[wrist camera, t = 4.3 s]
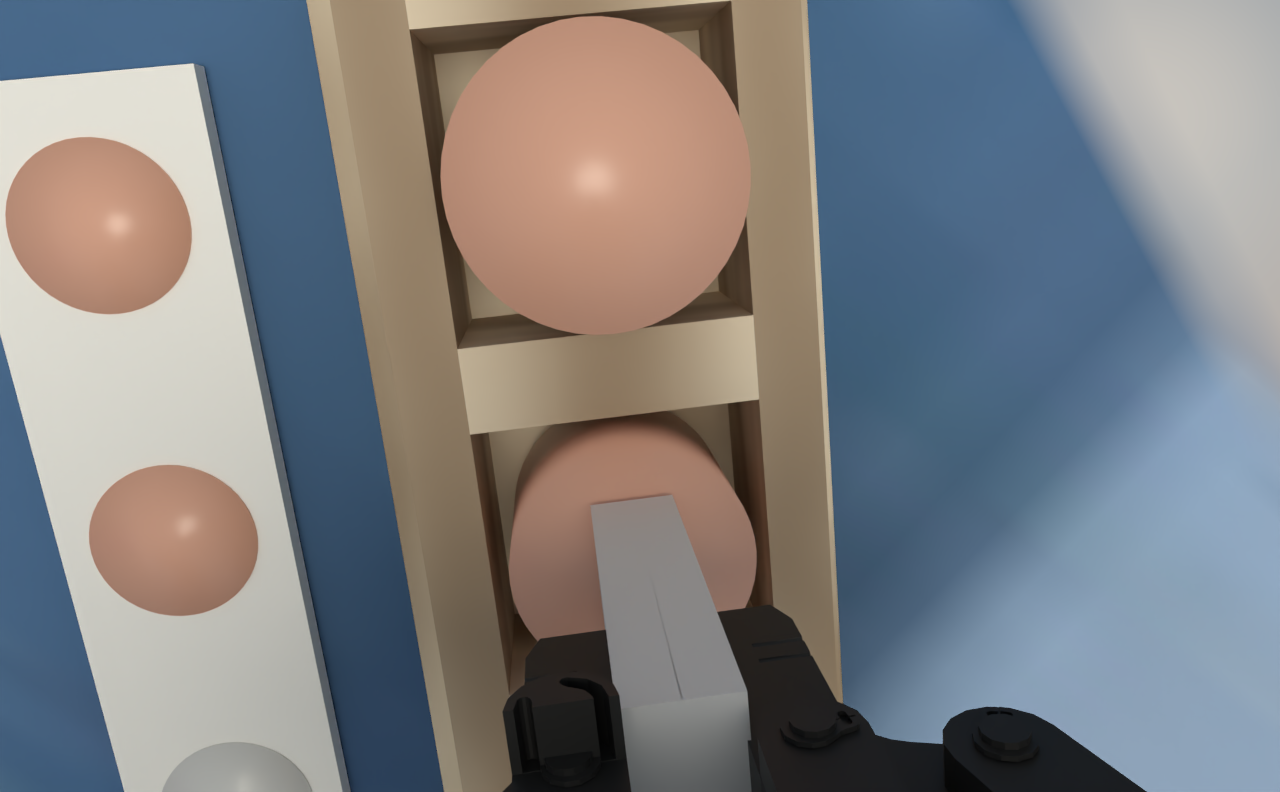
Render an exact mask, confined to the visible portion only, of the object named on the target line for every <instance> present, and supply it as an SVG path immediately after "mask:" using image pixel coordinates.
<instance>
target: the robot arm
mask: <svg viewBox="0 0 1280 792" xmlns="http://www.w3.org/2000/svg"><path fill="white" fill-rule="evenodd" d="M590 507H591V516H592V524H593V532H594V541H595V549H596V558H597V566H598V574H599V583H600V591H601V600H602V608H603V616H604V625H605V630H599V631H592V632H585V633H577V634H570V635H563V636H556V637H548V638H541V639H539V641H538V642H537V643H536V645H535V646H534V647H533V649H532V650H531V651H530V653H529V654H528V655H527V657H526V658H525V682H524V685H523V686H521V687H520V688H519V689H518V690H517V691H515V692H514V693H513V694H512V695H511V696H510V697H509V698H508V699H507V701H506V704H505V706H504V709H503V711H502V713H503V720H504V726H505V733H506V739H507V746H508V752H509V759H510V765H511V772H512V783H511V784H510V785H509V786H508V787H507V788H506V789H505V790H504V791H503V792H1146V791H1145V790H1143V789H1142V788H1141V787H1139V786H1138V785H1136V784H1135V783H1134V782H1132V781H1131V780H1129V779H1128V778H1127V777H1125V776H1124V775H1122V774H1121V773H1120V772H1118V771H1117V770H1115V769H1114V768H1113V767H1111V766H1110V765H1109V764H1107V763H1106V762H1104V761H1103V760H1102V759H1100V758H1099V757H1097V756H1096V755H1095V754H1093V753H1092V752H1090V751H1089V750H1088V749H1086V748H1085V747H1083V746H1082V745H1081V744H1079V743H1078V742H1076V741H1075V740H1074V739H1072V738H1071V737H1069V736H1068V735H1067V734H1065V733H1064V732H1063V731H1061V730H1060V729H1058V728H1057V727H1056V726H1054V725H1053V724H1051V723H1049V722H1047V721H1045V720H1043V719H1041V718H1039V717H1037V716H1036V715H1034V714H1030V713H1026V712H1023V711H1019V710H1015V709H1011V708H1004V707H999V708H998V707H983V708H978V709H972V710H966V711H964V712H962V713H960V714H958V715H957V716H955V717H953V718H951V719H950V720H949V722H948V723H947V725H946V726H945V728H944V729H943V744H932V743H917V742H906V741H898V740H891V739H888V738H884V737H881V736H877V735H875V733H874V732H873V730H872V728H871V726H870V725H869V723H868V722H867V721H866V719H865V718H864V717H863V716H862V715H861V714H860V713H859V712H858V711H857V710H855V709H853V708H850V707H848V706H846V705H844V704H842V703H840V702H837V700H836V698H835V697H834V695H833V693H832V691H831V689H830V687H829V686H828V684H827V682H826V680H825V678H824V676H823V674H822V673H821V671H820V669H819V667H818V665H817V663H816V662H815V660H814V658H813V656H811V654H810V651H809V649H808V647H807V645H806V643H805V641H803V640H802V636H801V634H800V632H799V630H798V628H797V627H796V625H795V623H794V621H793V619H792V618H790V617H789V616H787V615H786V614H784V613H783V612H781V611H779V610H778V609H776V608H775V607H773V606H772V605H763V606H756V607H749V608H742V609H734V610H727V611H720V612H717V610H716V608H715V605H714V603H713V600H712V597H711V595H710V592H709V590H708V587H707V584H706V582H705V579H704V576H703V574H702V571H701V569H700V566H699V563H698V561H697V558H696V556H695V553H694V550H693V548H692V545H691V542H690V540H689V537H688V535H687V532H686V529H685V527H684V524H683V522H682V519H681V516H680V514H679V511H678V509H677V506H676V503H675V501H674V498H673V495H666V496H658V497H651V498H643V499H635V500H627V501H619V502H611V503H604V504H596V505H590Z"/></svg>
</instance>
